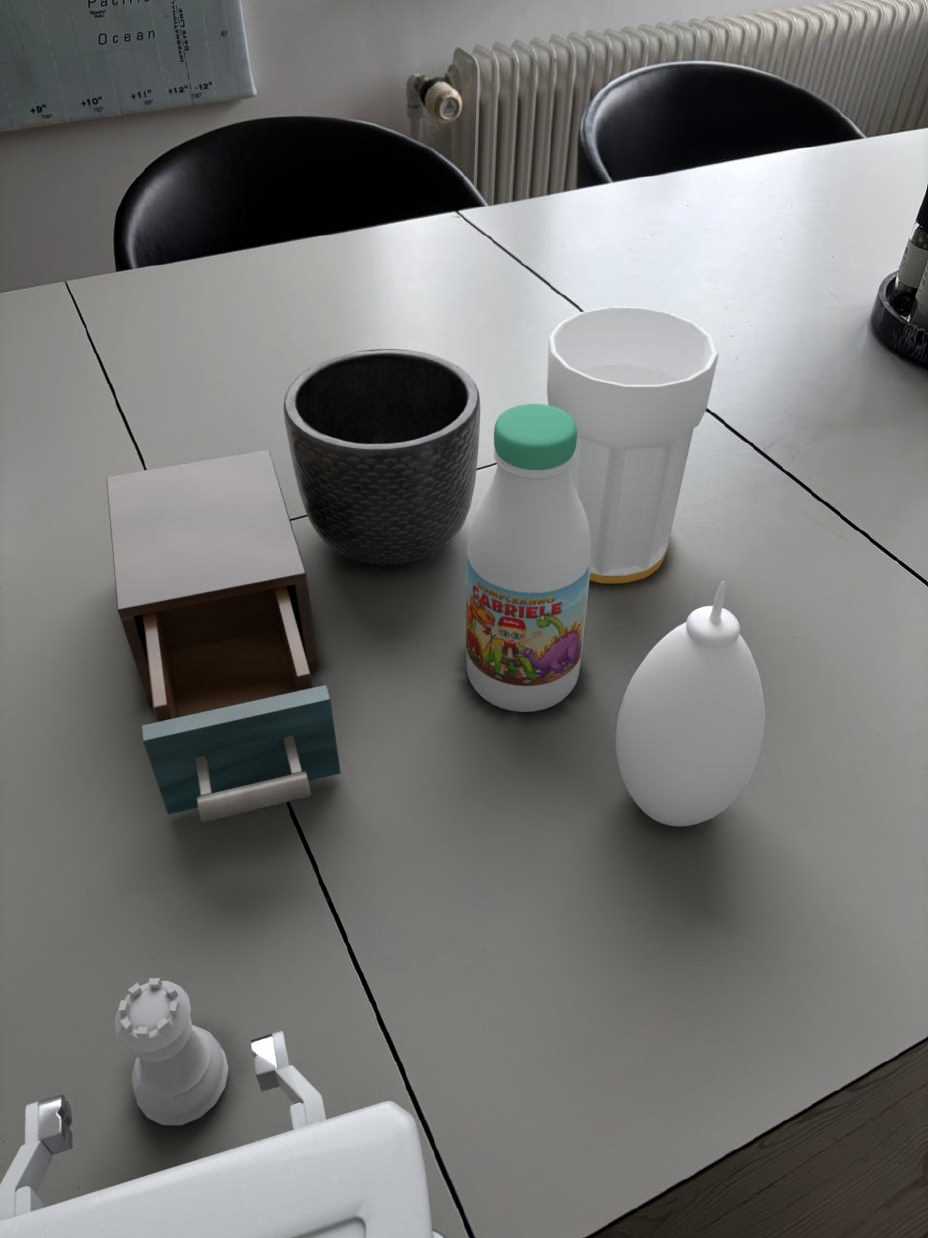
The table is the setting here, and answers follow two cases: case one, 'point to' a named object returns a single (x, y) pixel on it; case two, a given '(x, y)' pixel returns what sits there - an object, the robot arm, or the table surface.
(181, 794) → the drawer
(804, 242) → the table surface
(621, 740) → the sauce bottle
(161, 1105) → the rook chess piece
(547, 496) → the milk bottle
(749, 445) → the table surface
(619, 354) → the cup
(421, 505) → the planter
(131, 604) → the cabinet
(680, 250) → the table surface
